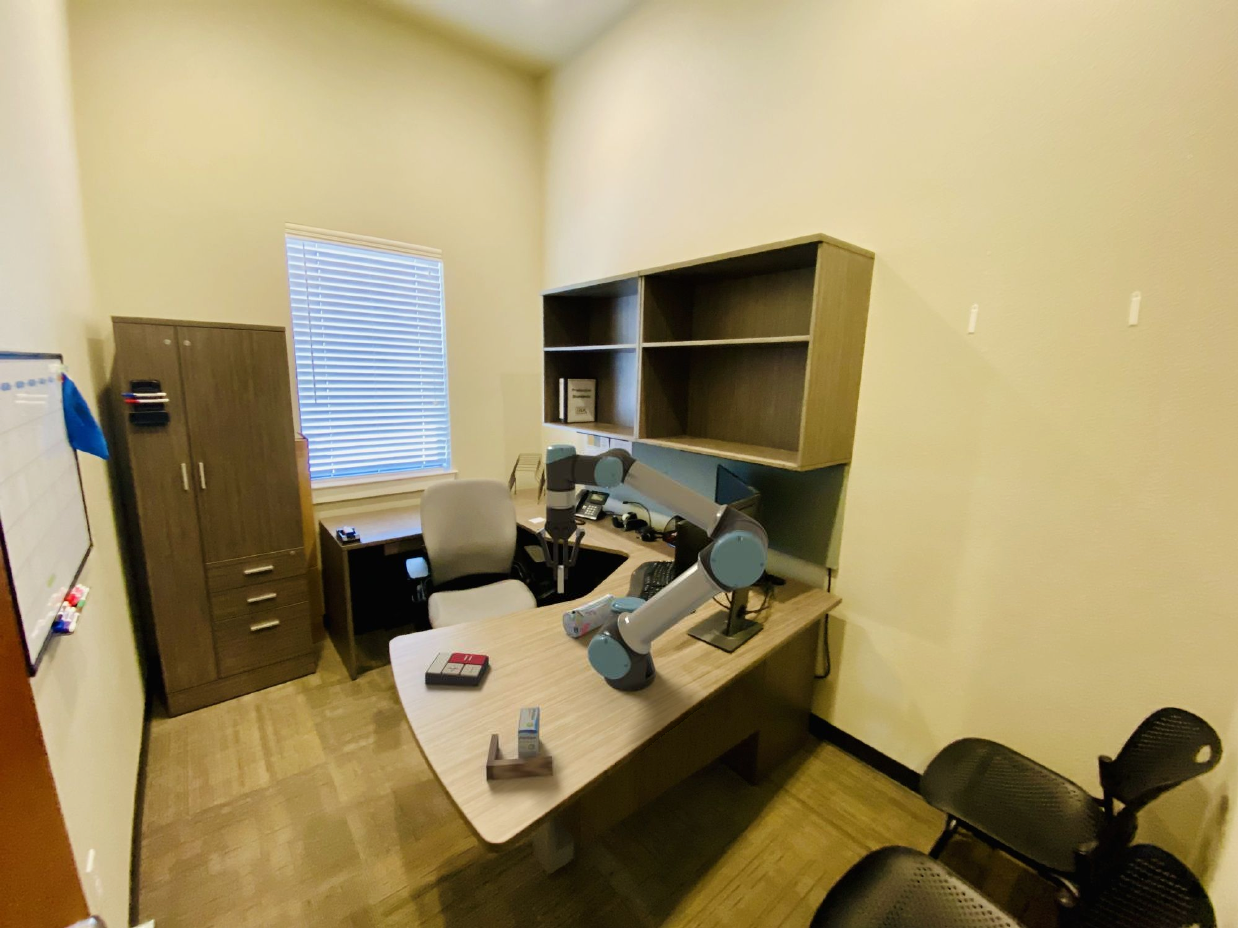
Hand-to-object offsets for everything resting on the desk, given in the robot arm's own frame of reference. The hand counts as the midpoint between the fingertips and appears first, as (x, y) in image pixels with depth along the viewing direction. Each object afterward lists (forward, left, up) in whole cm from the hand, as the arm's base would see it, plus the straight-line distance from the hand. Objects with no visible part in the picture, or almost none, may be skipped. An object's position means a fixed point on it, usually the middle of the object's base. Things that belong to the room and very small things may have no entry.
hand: (560, 590), depth 131 cm
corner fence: (+9, +25, -29) cm, 39 cm away
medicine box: (+7, +22, -30) cm, 38 cm away
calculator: (+29, -10, -30) cm, 43 cm away
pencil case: (-11, -34, -30) cm, 46 cm away
